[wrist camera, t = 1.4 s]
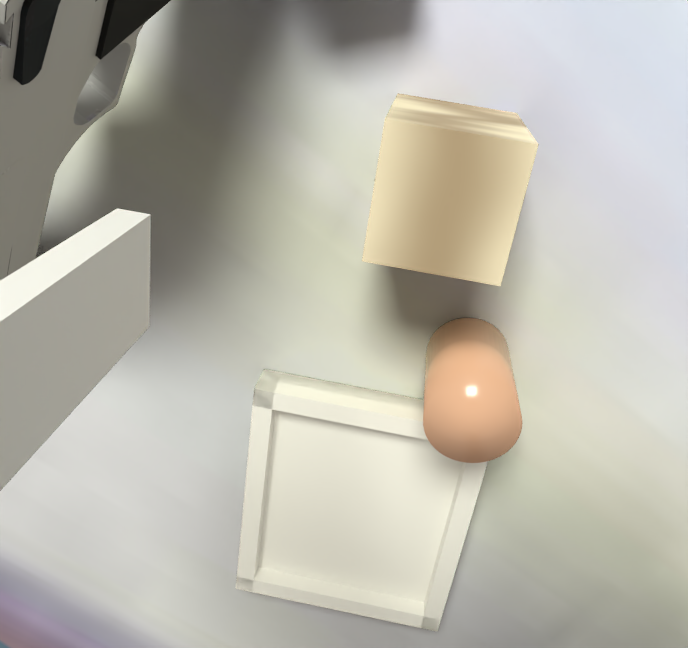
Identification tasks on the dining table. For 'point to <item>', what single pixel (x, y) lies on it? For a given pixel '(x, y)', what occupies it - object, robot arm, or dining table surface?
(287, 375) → the tray
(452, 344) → the peach capsule
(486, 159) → the birch block
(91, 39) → the handgun
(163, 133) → the dining table surface
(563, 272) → the dining table surface
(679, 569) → the dining table surface
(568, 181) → the dining table surface
